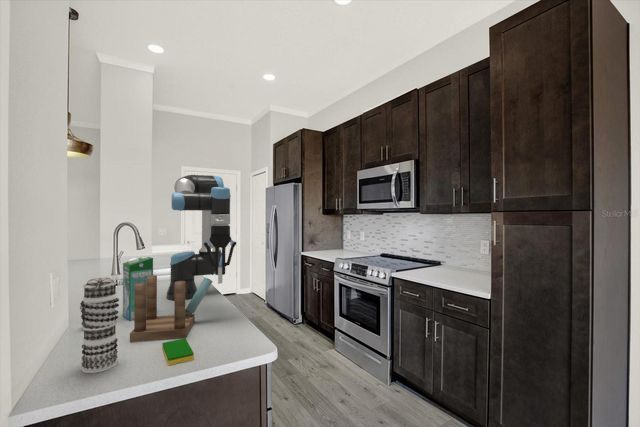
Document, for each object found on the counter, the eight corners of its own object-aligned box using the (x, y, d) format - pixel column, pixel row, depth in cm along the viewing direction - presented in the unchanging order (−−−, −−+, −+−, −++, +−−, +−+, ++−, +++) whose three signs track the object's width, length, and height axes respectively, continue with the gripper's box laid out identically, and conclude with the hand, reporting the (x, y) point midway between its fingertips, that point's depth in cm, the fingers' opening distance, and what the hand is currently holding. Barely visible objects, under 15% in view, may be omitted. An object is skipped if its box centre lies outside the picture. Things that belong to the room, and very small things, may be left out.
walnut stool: (147, 323, 127) (147, 275, 127) (195, 320, 131) (195, 273, 131) (129, 342, 109) (130, 285, 109) (185, 337, 113) (186, 283, 113)
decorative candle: (93, 376, 86) (93, 283, 86) (72, 369, 89) (73, 280, 89) (126, 362, 94) (126, 277, 94) (105, 356, 98) (106, 275, 98)
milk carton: (122, 315, 136) (122, 257, 136) (145, 311, 143) (145, 255, 143) (129, 320, 130) (129, 259, 130) (153, 315, 137) (153, 257, 137)
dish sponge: (185, 345, 108) (185, 337, 108) (193, 361, 96) (194, 353, 96) (162, 349, 104) (162, 342, 104) (168, 367, 92) (168, 358, 92)
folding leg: (186, 307, 129) (205, 276, 130) (194, 311, 129) (213, 280, 131) (184, 310, 125) (203, 278, 127) (193, 314, 126) (211, 282, 127)
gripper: (202, 225, 125) (202, 285, 125) (236, 225, 128) (236, 284, 128) (204, 224, 132) (204, 281, 132) (237, 224, 135) (237, 280, 135)
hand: (220, 282), depth 130 cm, fingers closed
